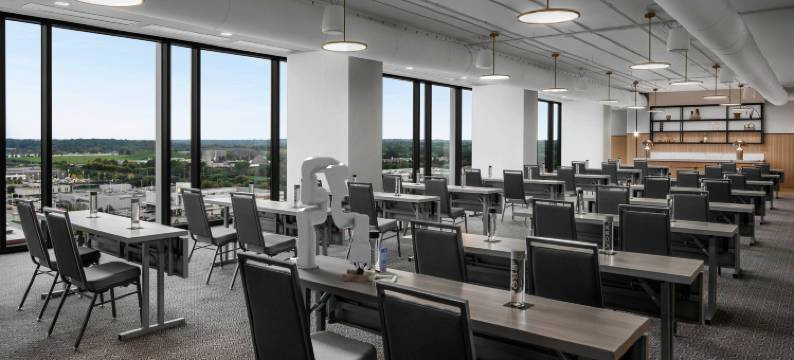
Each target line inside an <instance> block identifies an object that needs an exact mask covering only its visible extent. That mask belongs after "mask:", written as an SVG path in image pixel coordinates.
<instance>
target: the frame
mask: <svg viewBox="0 0 794 360" xmlns="http://www.w3.org/2000/svg"><path fill="white" fill-rule="evenodd" d="M376 276H377V277H376ZM375 277H376V278H379V279H374V280H373V281H372V282H373V283H375V282H376V281H387V282H390V283H391V282H393V283H394V284H395V282H396V281H397V277H398V275H393V274H392V275H391V274H390V275H389V274H388V275H387V274H375ZM380 278H381V279H382V280H381V279H380ZM385 278H386V279H391V280H385ZM375 284H376V283H375Z"/></svg>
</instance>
